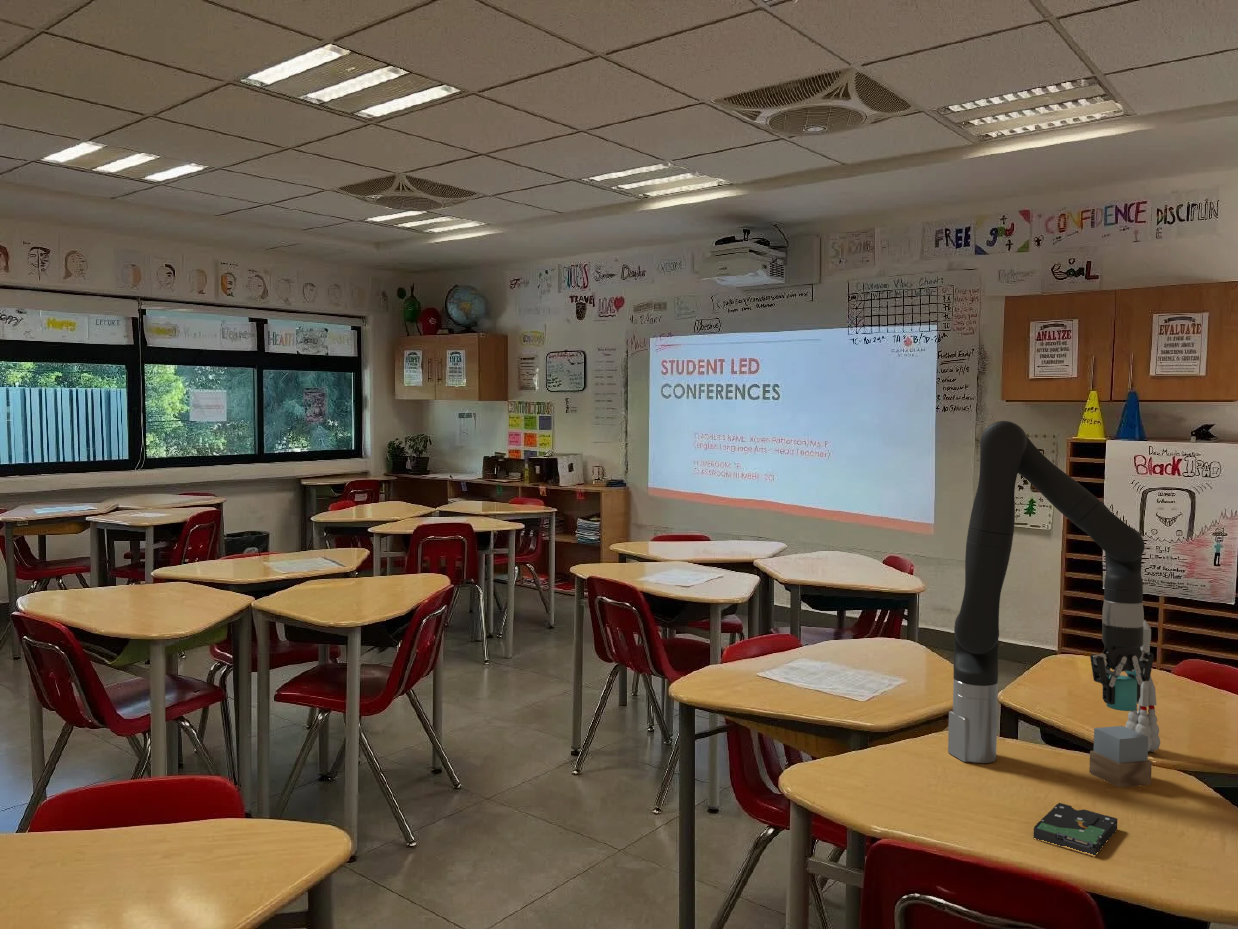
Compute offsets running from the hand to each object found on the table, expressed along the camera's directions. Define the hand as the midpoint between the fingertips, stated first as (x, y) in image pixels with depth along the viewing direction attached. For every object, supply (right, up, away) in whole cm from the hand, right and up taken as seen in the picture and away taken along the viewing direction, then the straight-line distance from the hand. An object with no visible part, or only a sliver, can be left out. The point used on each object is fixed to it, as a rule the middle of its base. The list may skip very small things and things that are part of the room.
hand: (1121, 702), depth 186 cm
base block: (0, -16, +1) cm, 17 cm away
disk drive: (-23, -18, -25) cm, 38 cm away
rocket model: (+14, -16, +17) cm, 28 cm away
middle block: (0, -11, +1) cm, 12 cm away
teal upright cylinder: (0, -1, 0) cm, 1 cm away
